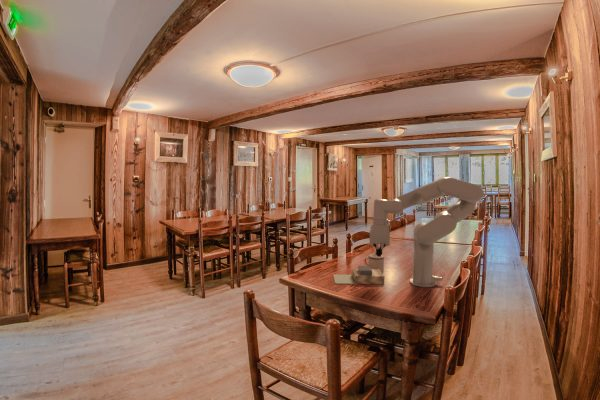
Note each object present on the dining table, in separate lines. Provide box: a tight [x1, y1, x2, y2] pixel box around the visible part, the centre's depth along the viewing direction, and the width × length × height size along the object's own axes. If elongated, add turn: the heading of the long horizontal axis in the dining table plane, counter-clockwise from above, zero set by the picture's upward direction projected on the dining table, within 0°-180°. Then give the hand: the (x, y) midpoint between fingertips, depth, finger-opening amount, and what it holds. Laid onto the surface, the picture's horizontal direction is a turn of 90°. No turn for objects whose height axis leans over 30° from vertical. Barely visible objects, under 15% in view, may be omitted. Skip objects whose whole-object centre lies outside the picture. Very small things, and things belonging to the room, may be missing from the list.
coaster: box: [357, 265, 372, 275], centre depth 169 cm, size 6×9×2 cm, turn 178°
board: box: [351, 268, 385, 285], centre depth 169 cm, size 15×13×4 cm
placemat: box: [332, 273, 355, 285], centre depth 170 cm, size 10×15×1 cm, turn 178°
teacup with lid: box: [363, 251, 385, 273], centre depth 186 cm, size 12×9×12 cm
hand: (378, 256), depth 169 cm, fingers closed
